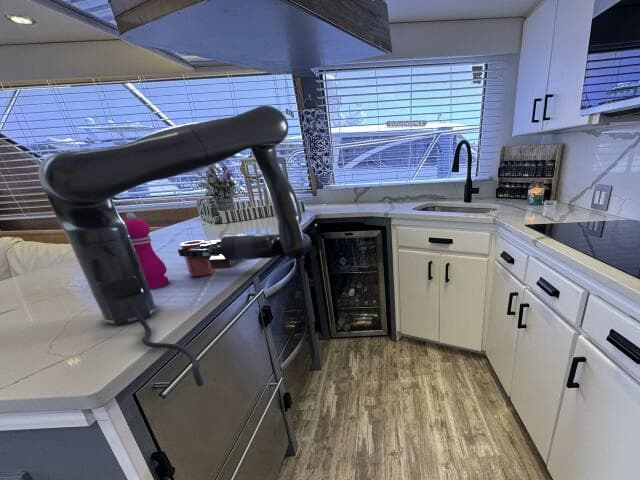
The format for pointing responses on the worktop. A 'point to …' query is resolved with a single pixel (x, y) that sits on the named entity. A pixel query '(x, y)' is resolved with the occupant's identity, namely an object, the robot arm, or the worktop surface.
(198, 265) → the cup
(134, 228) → the pepper mill
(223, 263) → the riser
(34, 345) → the worktop surface
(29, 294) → the worktop surface
